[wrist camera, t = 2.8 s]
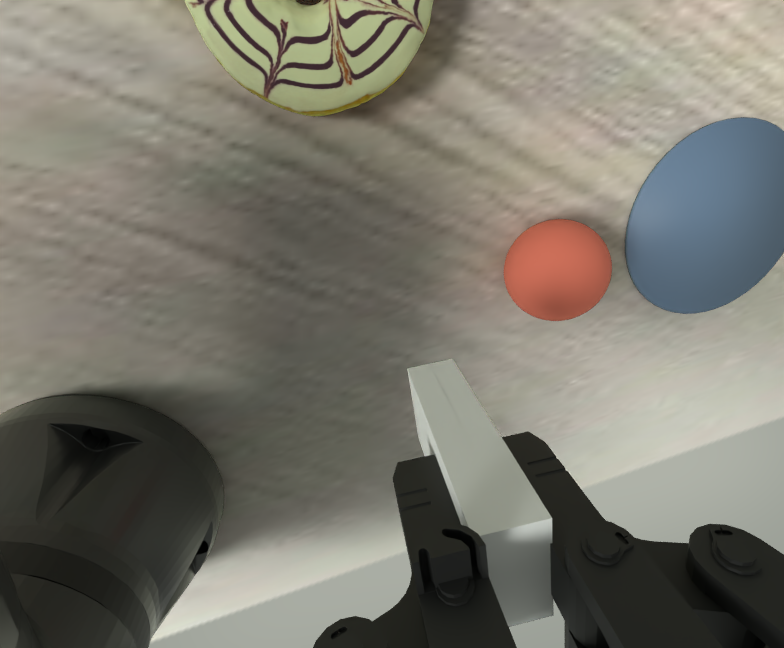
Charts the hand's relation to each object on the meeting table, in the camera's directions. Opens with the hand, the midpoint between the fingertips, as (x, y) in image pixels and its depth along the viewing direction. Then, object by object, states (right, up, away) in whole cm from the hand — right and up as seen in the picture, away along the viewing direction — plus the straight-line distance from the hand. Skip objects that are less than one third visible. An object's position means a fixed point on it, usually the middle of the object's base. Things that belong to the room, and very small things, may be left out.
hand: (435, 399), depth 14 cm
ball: (+8, +5, +10) cm, 13 cm away
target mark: (+19, +9, +13) cm, 25 cm away
